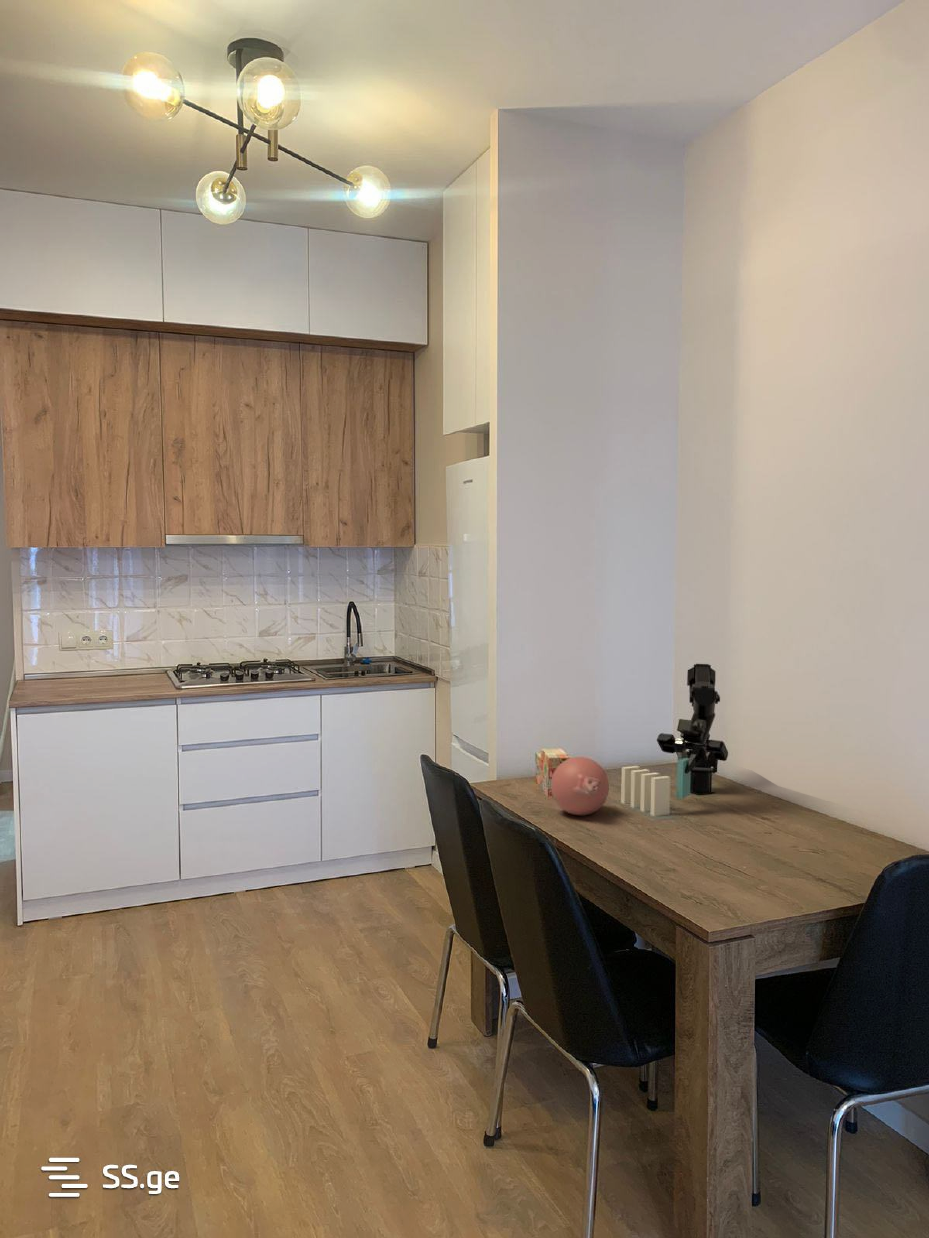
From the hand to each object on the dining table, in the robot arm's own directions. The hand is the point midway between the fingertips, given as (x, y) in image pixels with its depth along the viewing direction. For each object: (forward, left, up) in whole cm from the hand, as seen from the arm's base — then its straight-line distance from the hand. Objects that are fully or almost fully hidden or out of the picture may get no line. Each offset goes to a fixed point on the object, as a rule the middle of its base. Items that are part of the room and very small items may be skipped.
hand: (682, 772), depth 248 cm
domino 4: (+6, -2, -11) cm, 13 cm away
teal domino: (-1, 0, -7) cm, 7 cm away
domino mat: (+6, -11, -11) cm, 17 cm away
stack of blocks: (+18, -38, -12) cm, 43 cm away
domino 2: (+6, -11, -11) cm, 17 cm away
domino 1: (+6, -15, -11) cm, 20 cm away
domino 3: (+6, -6, -11) cm, 14 cm away
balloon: (+26, -9, -12) cm, 30 cm away
